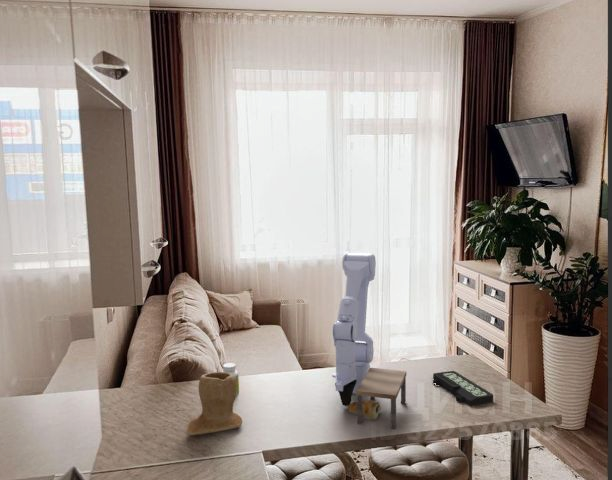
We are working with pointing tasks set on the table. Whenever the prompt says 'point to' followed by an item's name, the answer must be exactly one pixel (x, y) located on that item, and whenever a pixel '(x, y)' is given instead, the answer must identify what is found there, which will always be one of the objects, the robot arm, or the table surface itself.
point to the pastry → (366, 409)
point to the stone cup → (216, 404)
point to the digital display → (462, 388)
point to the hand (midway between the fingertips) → (346, 404)
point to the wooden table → (382, 389)
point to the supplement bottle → (231, 369)
